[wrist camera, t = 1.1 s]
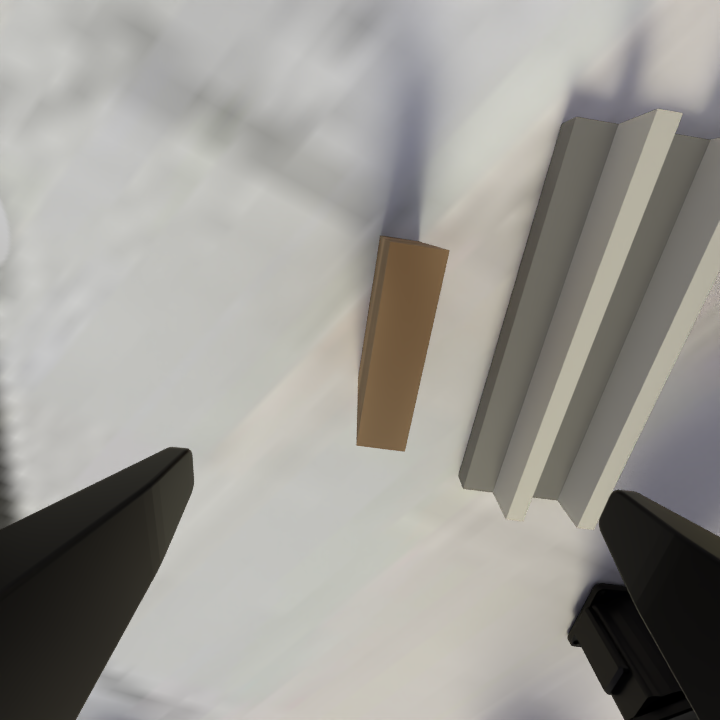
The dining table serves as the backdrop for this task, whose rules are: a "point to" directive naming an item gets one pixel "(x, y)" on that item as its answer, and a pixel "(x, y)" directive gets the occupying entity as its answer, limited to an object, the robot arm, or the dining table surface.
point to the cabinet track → (596, 312)
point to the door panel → (397, 339)
